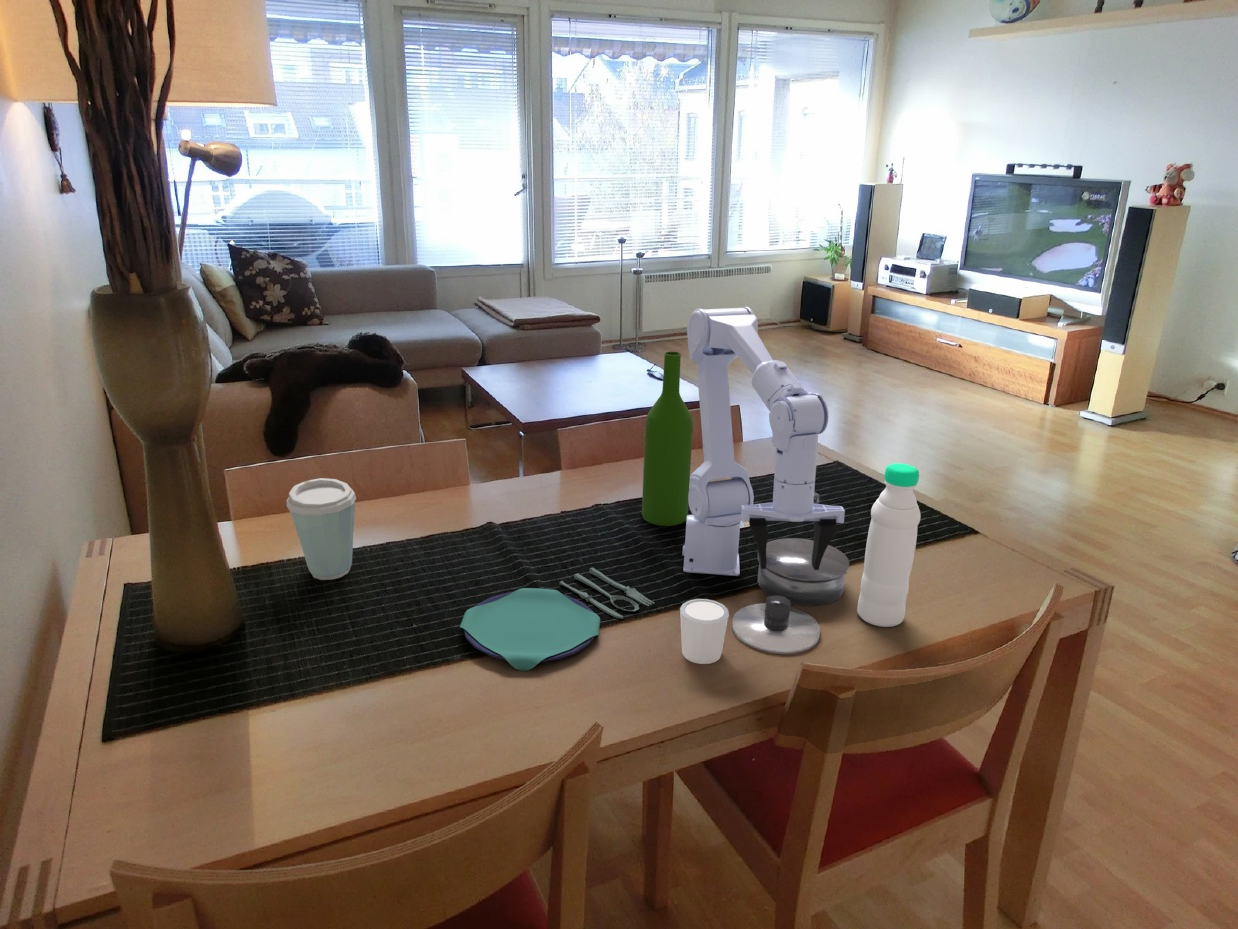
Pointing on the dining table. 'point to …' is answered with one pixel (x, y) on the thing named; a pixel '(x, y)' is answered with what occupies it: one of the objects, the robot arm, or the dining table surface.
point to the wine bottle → (667, 452)
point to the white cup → (703, 630)
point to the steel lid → (776, 627)
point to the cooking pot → (802, 572)
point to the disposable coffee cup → (324, 525)
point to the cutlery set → (539, 622)
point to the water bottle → (890, 548)
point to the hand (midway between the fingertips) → (788, 566)
